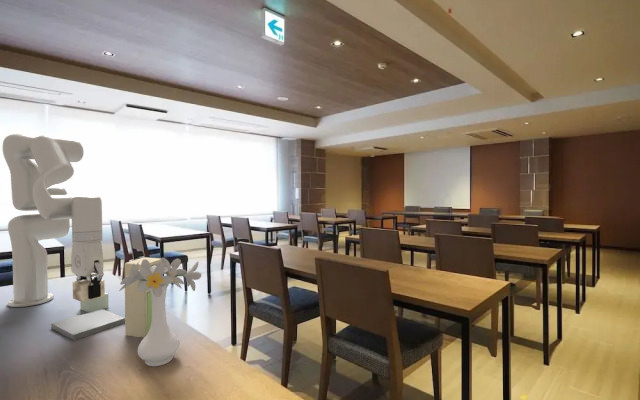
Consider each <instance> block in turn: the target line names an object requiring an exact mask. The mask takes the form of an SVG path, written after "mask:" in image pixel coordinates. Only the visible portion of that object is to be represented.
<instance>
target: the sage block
mask: <svg viewBox="0 0 640 400" xmlns="http://www.w3.org/2000/svg"><path fill="white" fill-rule="evenodd" d="M79 303H80V305H79V306H80V311H81V310H82V311H84V312H86V313H89V312H93V311H96V310H100V309H103V310H105V309H107V308H109V293H108V292H105V296H104V297H101V298H97V299H93V300H89V301H85V302H81V301H79Z"/></svg>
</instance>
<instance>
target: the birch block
mask: <svg viewBox="0 0 640 400" xmlns="http://www.w3.org/2000/svg"><path fill="white" fill-rule="evenodd" d="M93 279H94V277H92V280H93ZM88 286H89V280H88V279H85V280H80V281H72V299H73V300H76V301H78V302H80V301H81V302H85V301H89V300H93V299H97V298H101V297H104V296H105V293H106V292H105V289H106V288H105V280H104V279H102V280H101V296H100V297H97V298H93V299H89V298H88Z"/></svg>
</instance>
